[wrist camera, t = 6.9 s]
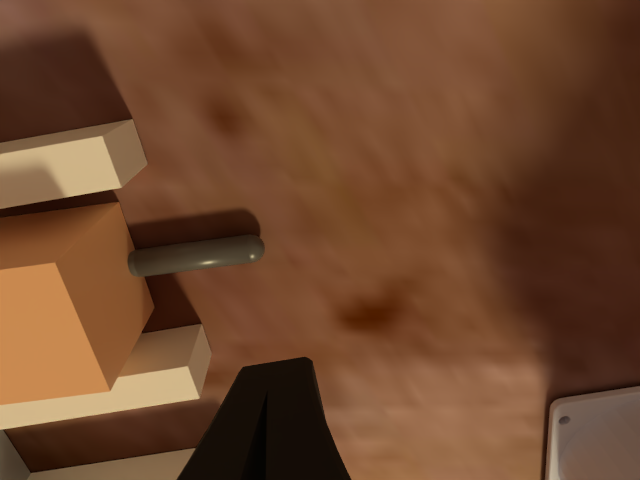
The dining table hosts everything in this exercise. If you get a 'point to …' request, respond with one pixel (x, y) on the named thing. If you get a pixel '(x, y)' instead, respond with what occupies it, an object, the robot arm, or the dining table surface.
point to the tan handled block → (83, 296)
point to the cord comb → (151, 348)
